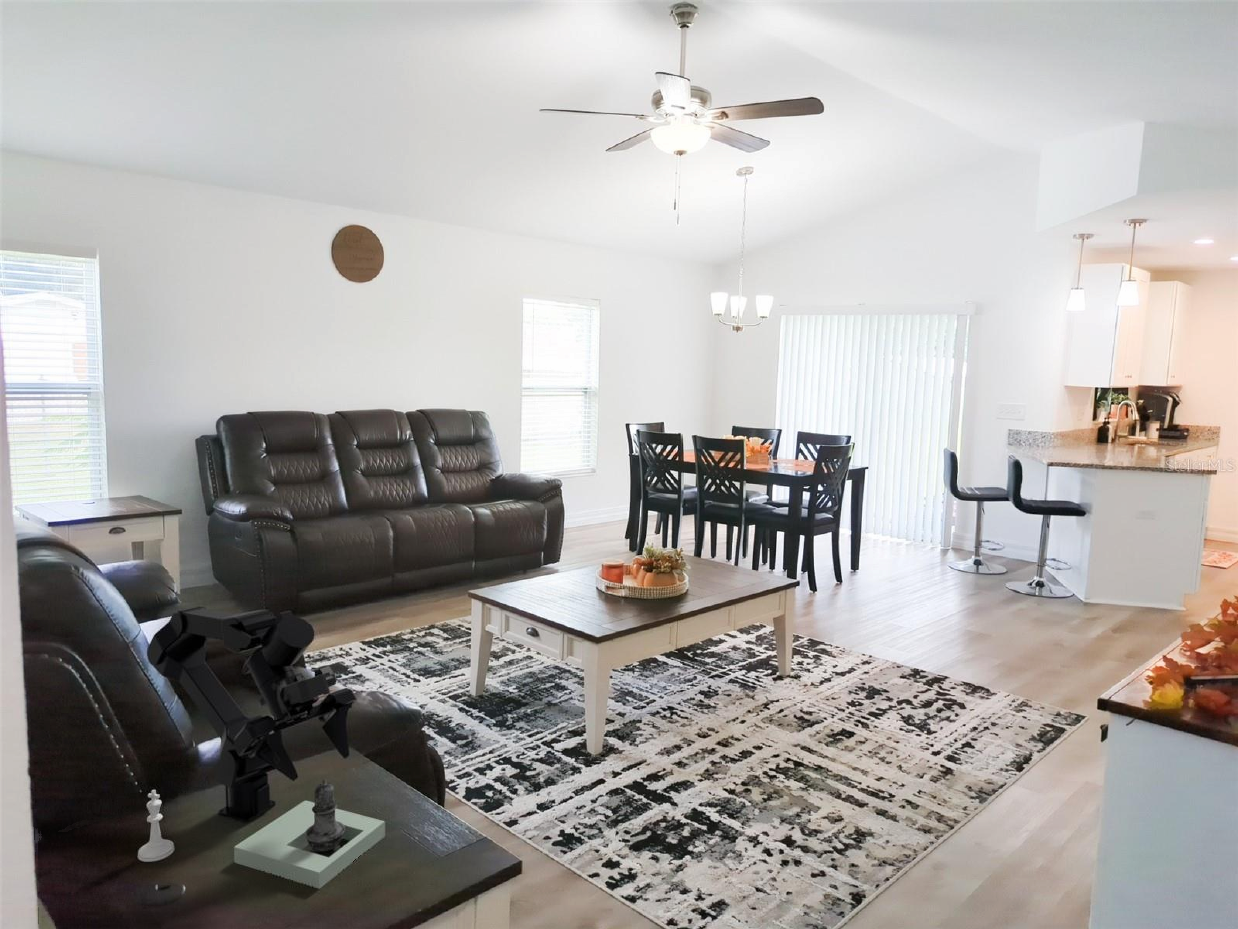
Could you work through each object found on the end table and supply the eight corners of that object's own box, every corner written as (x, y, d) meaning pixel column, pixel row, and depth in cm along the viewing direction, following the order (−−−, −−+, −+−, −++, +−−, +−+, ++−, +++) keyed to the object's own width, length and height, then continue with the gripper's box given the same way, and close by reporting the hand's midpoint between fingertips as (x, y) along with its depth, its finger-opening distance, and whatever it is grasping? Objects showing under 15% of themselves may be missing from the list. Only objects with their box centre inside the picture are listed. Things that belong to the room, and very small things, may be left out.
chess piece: (158, 864, 127) (155, 800, 126) (130, 859, 128) (127, 796, 127) (181, 846, 132) (179, 784, 130) (154, 841, 133) (151, 781, 131)
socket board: (234, 862, 128) (234, 847, 127) (305, 814, 141) (305, 800, 141) (319, 889, 122) (319, 872, 121) (385, 836, 136) (384, 821, 135)
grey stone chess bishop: (352, 852, 131) (351, 778, 129) (317, 868, 127) (315, 792, 125) (333, 837, 135) (332, 766, 133) (298, 853, 130) (296, 778, 129)
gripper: (243, 670, 123) (291, 765, 118) (349, 639, 138) (395, 722, 133) (213, 709, 128) (258, 801, 123) (319, 675, 143) (362, 755, 138)
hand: (322, 768), depth 129 cm, fingers open, 9 cm apart
